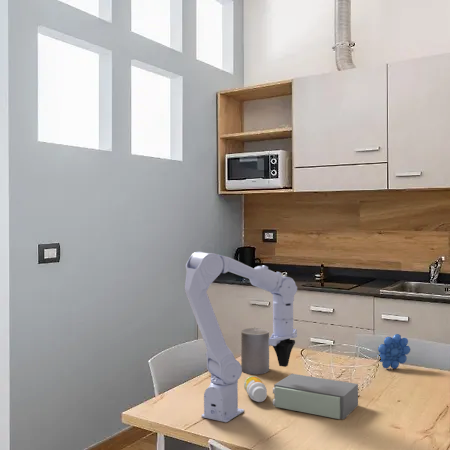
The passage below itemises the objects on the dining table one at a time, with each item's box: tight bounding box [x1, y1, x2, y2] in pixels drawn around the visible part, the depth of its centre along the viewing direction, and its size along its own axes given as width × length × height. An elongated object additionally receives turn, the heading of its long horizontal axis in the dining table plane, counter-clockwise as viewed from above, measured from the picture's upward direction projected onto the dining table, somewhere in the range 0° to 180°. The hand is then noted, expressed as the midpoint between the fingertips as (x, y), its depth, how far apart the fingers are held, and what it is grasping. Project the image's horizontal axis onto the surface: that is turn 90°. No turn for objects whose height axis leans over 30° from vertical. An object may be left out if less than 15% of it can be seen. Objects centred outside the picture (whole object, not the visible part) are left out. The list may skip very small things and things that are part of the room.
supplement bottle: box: [243, 375, 268, 403], centre depth 156 cm, size 5×5×10 cm
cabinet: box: [273, 373, 359, 420], centre depth 150 cm, size 12×20×6 cm, turn 58°
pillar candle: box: [240, 327, 270, 375], centre depth 184 cm, size 10×10×15 cm
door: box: [272, 387, 341, 420], centre depth 144 cm, size 19×1×5 cm, turn 59°
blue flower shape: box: [377, 333, 411, 369], centre depth 186 cm, size 12×7×12 cm, turn 94°
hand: (283, 365), depth 152 cm, fingers closed
